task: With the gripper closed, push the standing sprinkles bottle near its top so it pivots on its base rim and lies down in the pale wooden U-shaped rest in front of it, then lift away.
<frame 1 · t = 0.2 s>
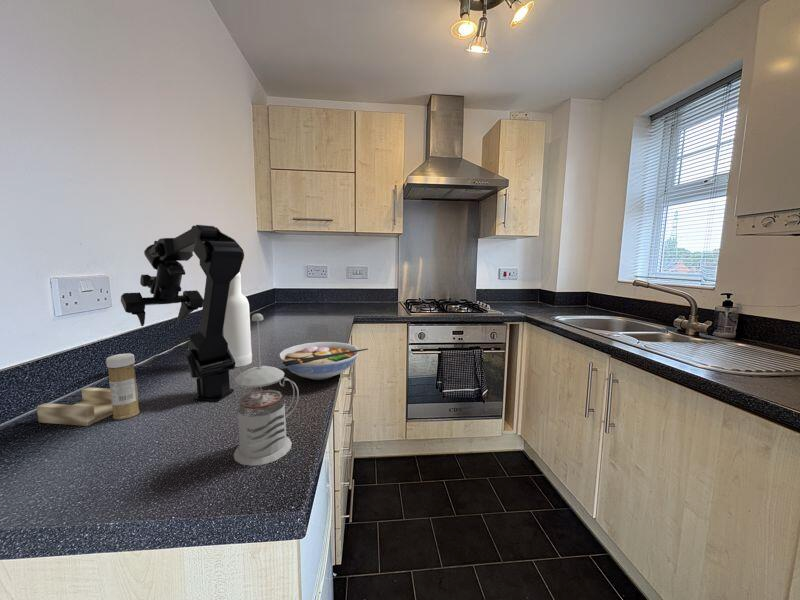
hand: (161, 323, 96), 15 cm above the worktop, tool tilted 30°, fingers open, 9 cm apart
french press: (268, 447, 59), on the worktop
sprinkles bottle: (126, 416, 70), on the worktop
bottle: (239, 364, 105), on the worktop
bottle rest: (88, 412, 71), on the worktop
ramen bowl: (320, 376, 95), on the worktop
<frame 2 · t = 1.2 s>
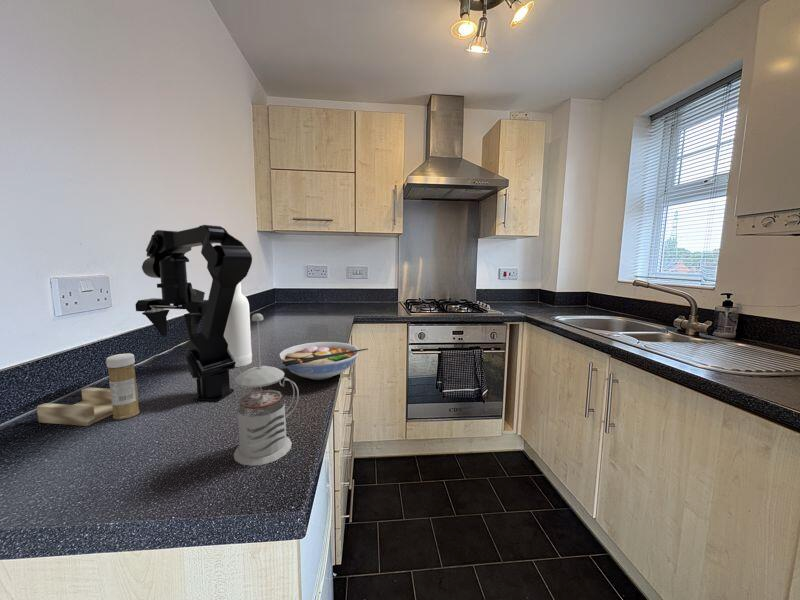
hand: (178, 337, 87), 13 cm above the worktop, tool pointing down, fingers open, 8 cm apart
nothing on the worktop moved.
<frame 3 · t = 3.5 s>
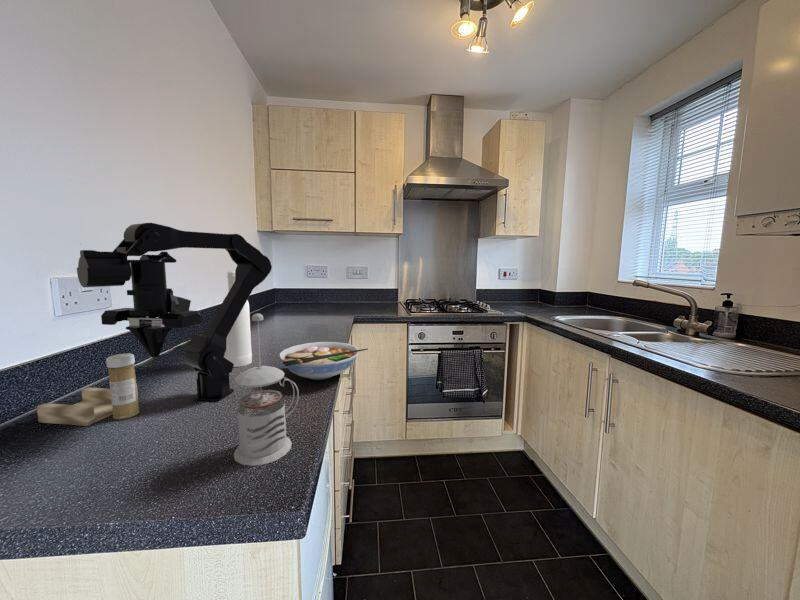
hand: (155, 357, 69), 13 cm above the worktop, tool pointing down, fingers closed
nothing on the worktop moved.
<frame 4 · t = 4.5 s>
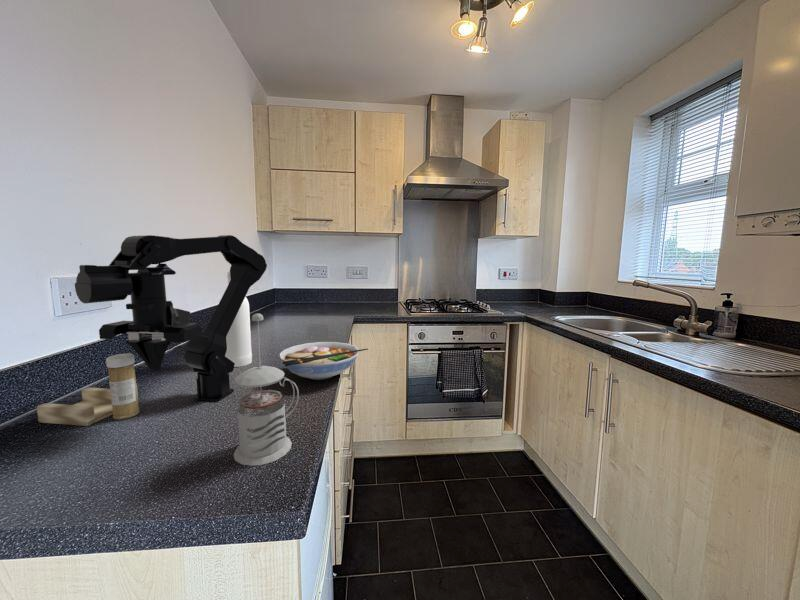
hand: (155, 370, 68), 11 cm above the worktop, tool pointing down, fingers closed
nothing on the worktop moved.
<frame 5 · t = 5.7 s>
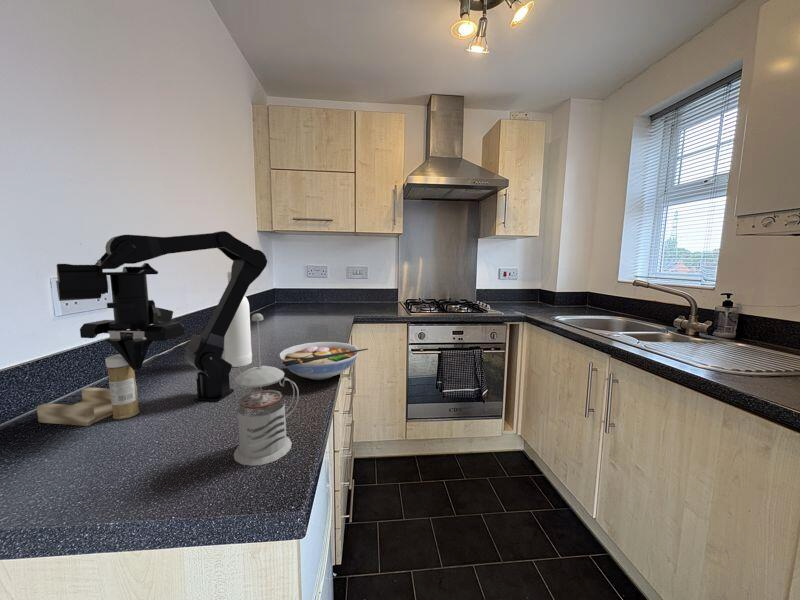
hand: (137, 369, 68), 11 cm above the worktop, tool pointing down, fingers closed
sprinkles bottle: (126, 416, 70), on the worktop, touching gripper
everything else where it was.
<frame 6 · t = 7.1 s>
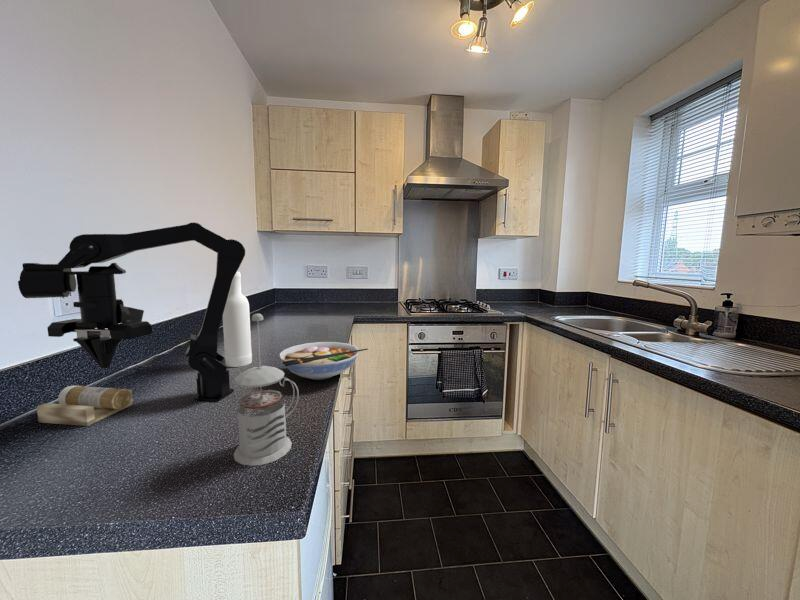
hand: (105, 367, 69), 11 cm above the worktop, tool pointing down, fingers closed
sprinkles bottle: (123, 399, 71), point 3 cm above the worktop, touching bottle rest
everything else where it was.
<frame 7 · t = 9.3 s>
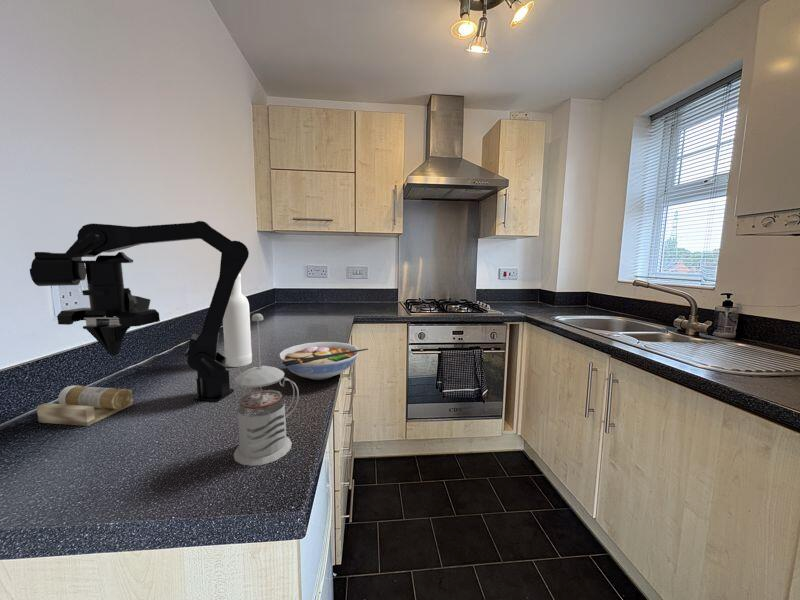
hand: (114, 355, 71), 13 cm above the worktop, tool pointing down, fingers closed
nothing on the worktop moved.
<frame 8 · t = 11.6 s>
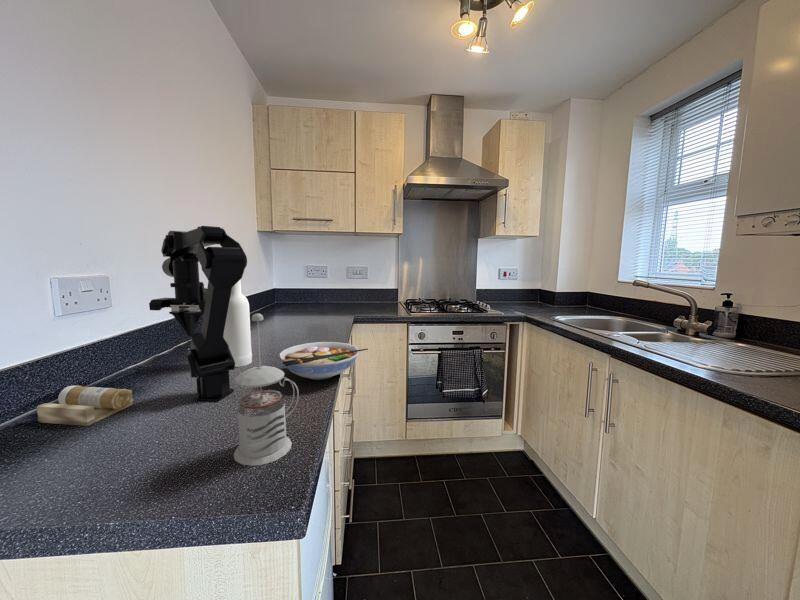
hand: (191, 335, 88), 13 cm above the worktop, tool pointing down, fingers closed
nothing on the worktop moved.
at the end: sprinkles bottle tilted 90°; sprinkles bottle touching bottle rest; sprinkles bottle inside the target area (1.9 cm from its centre), point 3.0 cm above the worktop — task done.
